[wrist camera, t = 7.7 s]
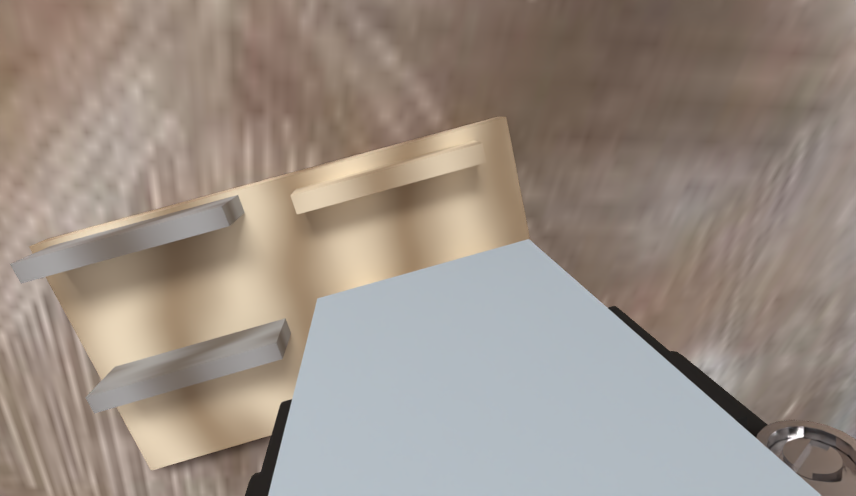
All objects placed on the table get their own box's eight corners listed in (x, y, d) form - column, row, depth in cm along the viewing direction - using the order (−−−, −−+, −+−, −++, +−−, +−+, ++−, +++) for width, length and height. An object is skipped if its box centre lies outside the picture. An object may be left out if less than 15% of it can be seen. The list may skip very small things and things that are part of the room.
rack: (498, 116, 27) (523, 118, 23) (543, 341, 32) (571, 377, 28) (47, 238, 26) (-15, 264, 22) (160, 453, 31) (128, 509, 27)
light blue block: (528, 238, 13) (1132, 766, 3) (554, 374, 15) (1018, 1060, 4) (317, 298, 13) (114, 1113, 3) (364, 430, 14) (358, 1298, 4)
